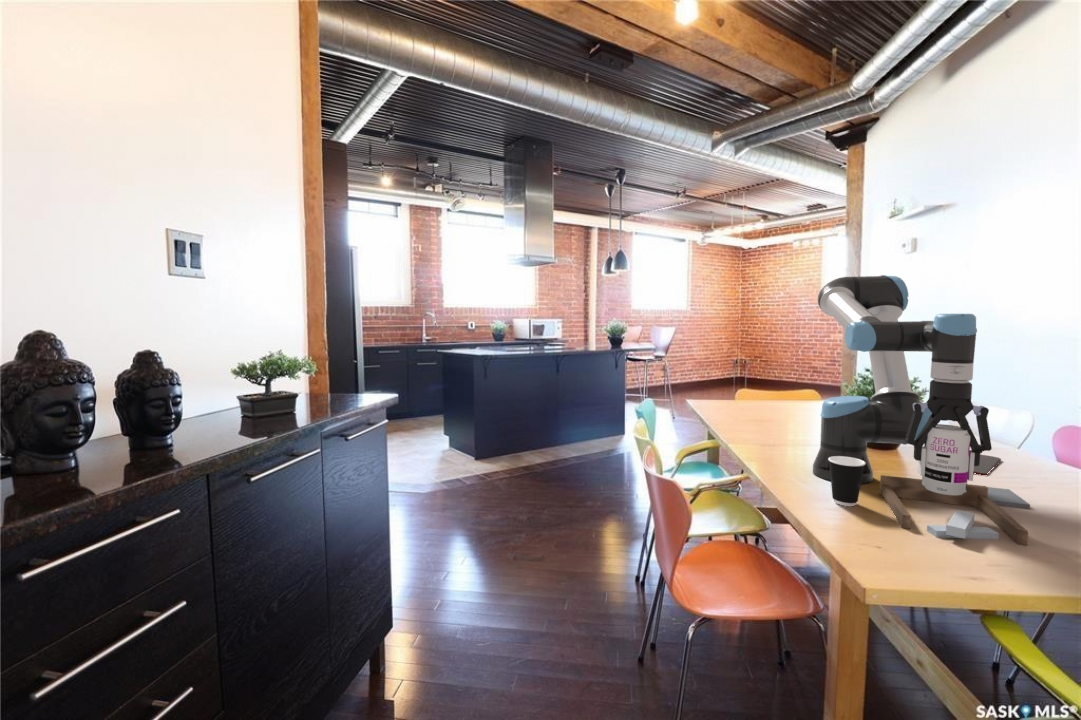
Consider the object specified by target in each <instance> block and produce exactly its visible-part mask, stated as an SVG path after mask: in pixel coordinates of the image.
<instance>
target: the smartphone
mask: <svg viewBox="0 0 1081 720" xmlns="http://www.w3.org/2000/svg"><path fill="white" fill-rule="evenodd" d="M1000 461H1001V462H1002V458H1000V457H996V456H992V455H986V454H980V463H979V466H974V471H973V473H976V474H981V475H980V476H982V475H988V474H989V473H988V472H989V471H990V470H991V469H992V468H993V467H995V466H996V465H997V466H998V465H999V464H1000V463H1001V462H1000ZM999 462H1000V463H999ZM998 463H999V464H998ZM997 466H996V467H997ZM996 467H995V468H996ZM987 473H988V474H987ZM976 474H975V475H976ZM988 476H989V475H988Z"/></svg>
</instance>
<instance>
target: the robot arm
mask: <svg viewBox="0 0 1081 720" xmlns="http://www.w3.org/2000/svg"><path fill="white" fill-rule="evenodd" d="M908 290H909V289H908V287H907V284H906V282H905V281H904V280H903V279H902V277H898V276H896V275H885V274H883V275H878V276H877V275H870V276H868V275H867V276H862V275H861V276H842V277H838V278H835V279H833V280H831V281H829V282H827V283H826V284H825V285H824V286H823V287H822V288H821V289H820V291H819V293H818V296H817V305H818V307H819V308H820V310H821V311H822V312H823V313H824V314H825V315H827V316H829V317H833V319H834V320H836V322H837V323H838V324H839V325H840V326H841V327H842V328H843V329H844V331H845V332H844V342H845V346H846V347H847V349H848V350H849V351H855V352H863V353H867V352H868V353H869V359H870V365H871V372H872V378H873V379H872V380H873V385H874V391H875V393H874V394H873V395H872V396H870V398H869V397H867V396H863V395H843V396H834V397H829V398H827V399H825V400H824V401H823V403H822V405H821V412H820V418H821V420H820V446H819V450H818V452H817V454H816V457H815V460H814V462H813V465H812V474H814V475H815V476H817V477H819V478H821V479H825V480H827V481H831V474H830V462H829V460H828V458H829V457H833V456H844V457H851V458H856V459H860V460H862V461H864V462H865V463H866V464H865V465H864V468H863V474H862V480H861V484H869V483H871V482H873V480H874V472H873V469H872V465H871V462H870V458H869V456H868V453H867V451H868V450H867V449H868V448H867V447H868V443H878V444H879V443H881V444H897V445H898V444H899V445H905V446H906V445H911V446H913V459H914V460H915V461H917V462H918V464H917V473H918V474H919V475H920V476H921V477H922V476H925V462H926V448H925V447H924V444H925V442H926V440H927V439H928V433H929V432H930V430H931V429H932V427H933V428H935V427H936V425H937V424H940V422H941V421H944V422H945V421H951V422H957V423H958V426H959V427H961V429H963V430H967V432H968V433H969V435H970V451H969V465H968V479H967V481H971V482H973V480H974V474H973V471H974V466H979V463H980V455H982V453H983V452H986V451H987V452H991V450H993V447H992V441H991V436H990V430H989V424H988V423H989V422H988V415H989V412H990V409H989V408H988V407H986V406H983V405H980V406H979V405H974V404H973V403H972V394H973V393H972V392H973V384H972V382H970V381H972V380H973V376H974V374H973V373H974V362H975V360H974V359H975V352H976V349H975V348H976V339H977V333H978V329H977V316H976V315H975V314H973V313H938V314H935V316H934V318H933V320H920V321H919V320H918V321H915V320H914V321H899V319H900V317H901V316H902V315H903V312H904V311H905V310H906V309H907V307H908V304H909V298H908V297H909V291H908ZM905 352H929V353H931V365H930V378H931V379H932V380H930V381H929V392H928V393H929V395H928V396H929V397H928V400H927V401H926V402H921V399H920V395H919V393H917V392H915V391H914V390H912V389H911V382H910V377H909V371H908V366H907V362H906V361H907V360H906V356H905ZM972 411H973V414H974V415H975V419H976V424H977V432H978V436H979V437H978V438H979V442H980V444H979V442H978V440H977V438H976V436H975V434H974V433H973V429H972V428H971V426H970V425H969V424H970V423H969V421H968V419H967V416H968V414H969V413H971V412H972ZM868 482H869V483H868Z"/></svg>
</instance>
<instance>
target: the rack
mask: <svg viewBox="0 0 1081 720" xmlns="http://www.w3.org/2000/svg"><path fill="white" fill-rule="evenodd" d="M987 487H988V486H987V485H979V484H968V483H967V492H965V493H963V494H962V495H945V494H940V493H936V492H932V491H930V490H927V489H926V488H925V486H923V485H922V478H921V479H920V478H911V477H902V476H891V475H882V474H881V475H880V483H879V495H880V494H881V495H883V496H882V498H883V497H884V498H883V499H884V501H885V500H886V501H885V503H886V502H887V503H888V504H887V503H886V504H887V506H888V505H889V506H888V508H889V507H890V508H891V509H890V508H889V509H890V511H891V510H892V511H893V513H894V514H893V513H892V514H893V516H894V515H895V516H896V518H897V519H896V518H895V519H896V521H897V520H898V521H897V522H899V523H898V524H899V526H900V525H901V526H900V527H901V528H902V529H907V528H909V529H910V530H911V514H910V512H909V510H908V509H907V508H906V507H905V505H904V503H903V502H902V501H901V500H900V499H907V498H911V499H910V500H915V499H918V500H917V501H923V500H925V501H926V502H934V503H942V504H950V505H956V506H957V505H958V506H959V505H960V506H967V507H974V508H978V509H979V510H980V511H981V512H983V514H984V515H985V516H987V517H988V519H990V521H992V522H993V523H994V524H995V525H996V526H997V527H999V528H1000V529H1001V531H1003V533H1005V535H1007V536H1008V537H1009V538H1010V539H1012V541H1013V542H1014V543H1016V545H1021V546H1028V540H1029V539H1028V537H1029V530H1028V529H1027V528H1025V527H1024V526H1023V525H1022V524H1021V523H1019V522H1018V521H1017V520H1015V519H1014V518H1013V517H1012V516H1011V515H1010V514H1008V513H1007V511H1004V510H1003V509H1002V508H1001V506H1000V505H996V504H995V503H994V502H993V501H992V500H990V499H989V498H988V497H987V496H988V488H987ZM881 495H880V496H881ZM898 497H902V498H898ZM892 511H891V512H892ZM895 516H894V517H895Z"/></svg>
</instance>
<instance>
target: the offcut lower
mask: <svg viewBox="0 0 1081 720" xmlns="http://www.w3.org/2000/svg"><path fill="white" fill-rule="evenodd" d="M926 532H928V533H929V534H931V535H932V536H933V537H936V538H946V539H947V538H948V539H949V538H954V539H960V538H959V537H955V536H951V535H947V534H946V525H940V524H938V525H937V524H926ZM999 536H1000V534H999V532H997V531H995V530H994V529H992V528H989V527H988V526H972V527H971V529H970V530H969V532H968V534H967V536H966V537H965V539H979V540H999Z"/></svg>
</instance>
